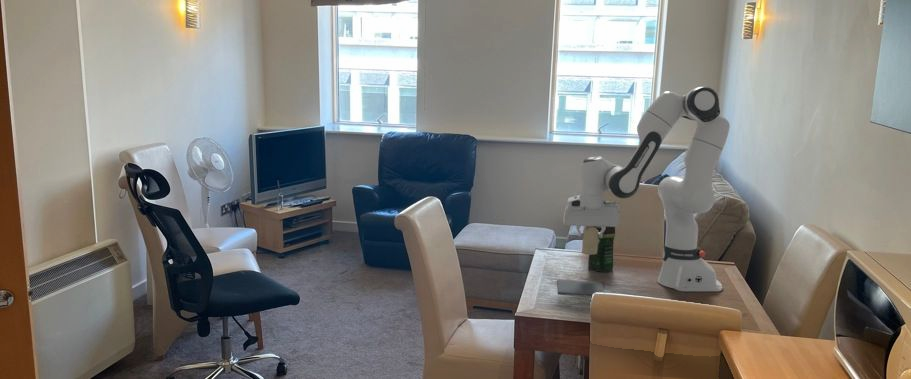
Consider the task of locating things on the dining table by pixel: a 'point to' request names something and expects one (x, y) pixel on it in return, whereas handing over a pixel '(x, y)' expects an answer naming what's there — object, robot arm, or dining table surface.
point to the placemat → (579, 287)
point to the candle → (590, 240)
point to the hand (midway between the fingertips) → (590, 237)
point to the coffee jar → (603, 251)
